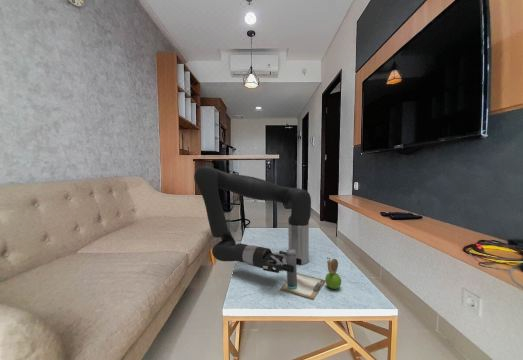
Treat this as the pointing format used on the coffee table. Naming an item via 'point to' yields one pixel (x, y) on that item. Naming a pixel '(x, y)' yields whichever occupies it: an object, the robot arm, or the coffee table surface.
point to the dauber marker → (293, 276)
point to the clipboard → (305, 286)
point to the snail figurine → (333, 274)
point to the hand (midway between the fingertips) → (297, 265)
